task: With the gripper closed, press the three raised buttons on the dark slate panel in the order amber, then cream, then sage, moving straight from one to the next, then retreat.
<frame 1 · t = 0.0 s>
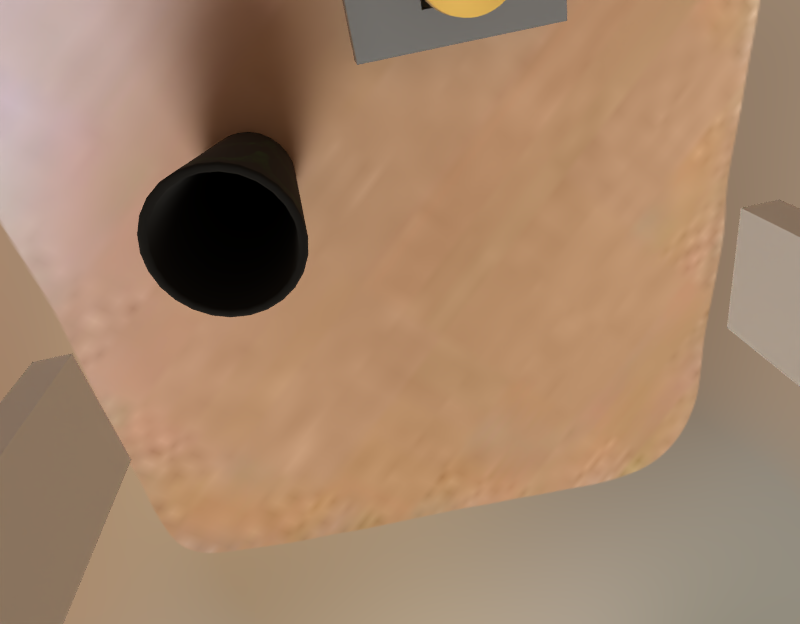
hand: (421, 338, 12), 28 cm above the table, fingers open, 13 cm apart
cup: (252, 175, 37), on the table
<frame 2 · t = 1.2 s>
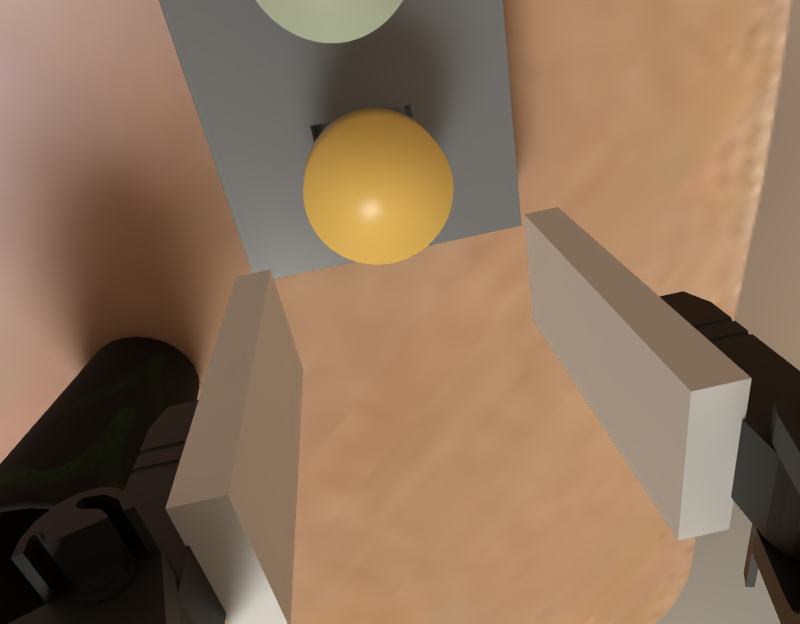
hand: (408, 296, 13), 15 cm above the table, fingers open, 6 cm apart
button amber: (374, 178, 22), point 5 cm above the table, slide at 0.0 cm
cup: (145, 379, 31), on the table
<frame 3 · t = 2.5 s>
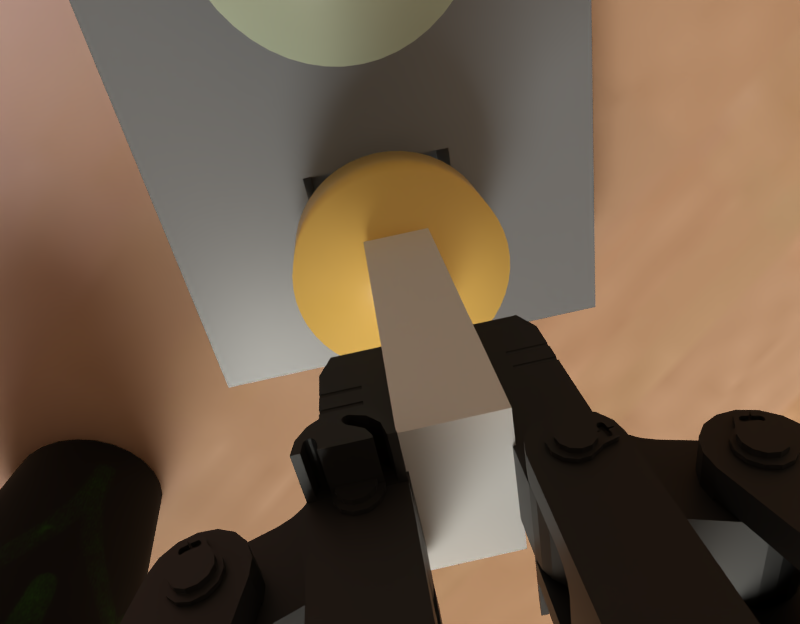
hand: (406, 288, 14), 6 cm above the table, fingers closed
button amber: (393, 245, 16), point 4 cm above the table, slide at 1.0 cm, touching gripper
cup: (91, 488, 24), on the table
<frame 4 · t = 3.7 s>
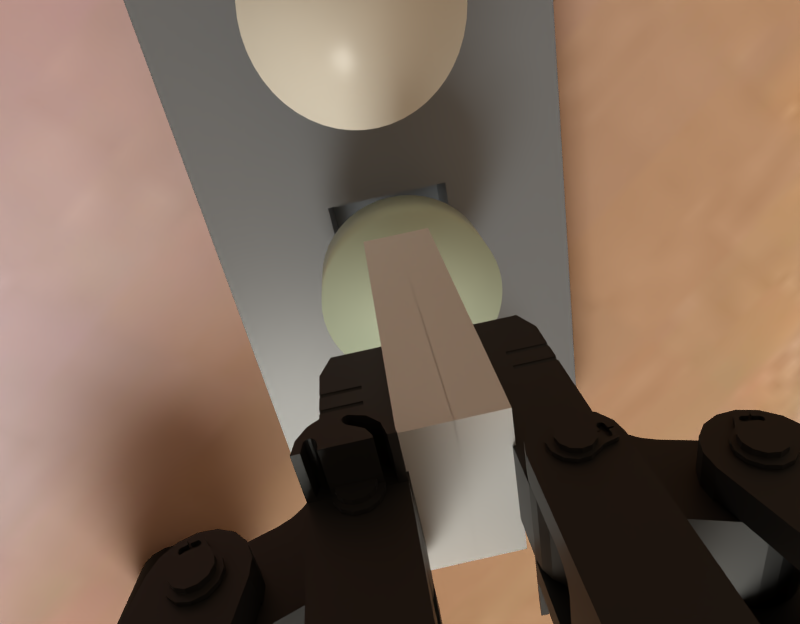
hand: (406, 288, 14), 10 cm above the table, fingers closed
panel: (390, 223, 23), on the table
button cream: (350, 11, 15), point 5 cm above the table, slide at 0.0 cm
cup: (196, 577, 31), on the table
button sage: (404, 272, 18), point 5 cm above the table, slide at 0.0 cm
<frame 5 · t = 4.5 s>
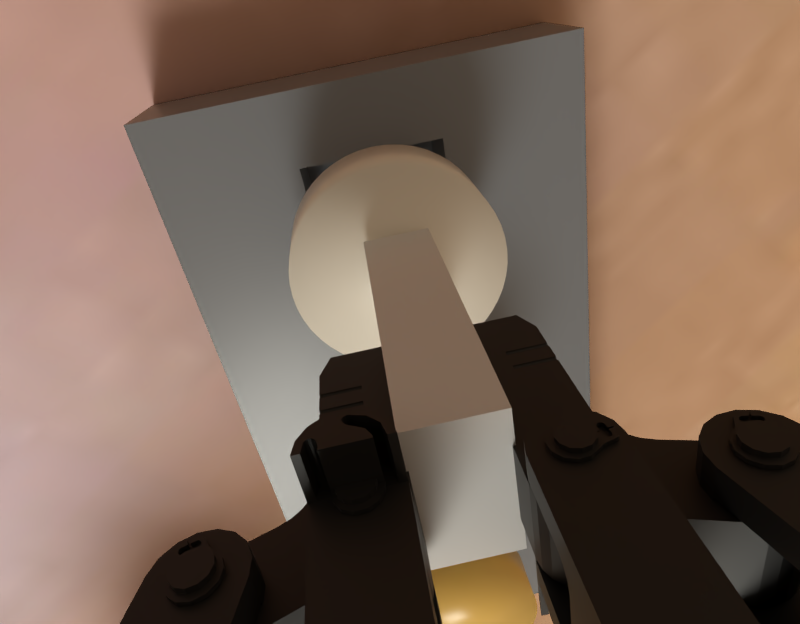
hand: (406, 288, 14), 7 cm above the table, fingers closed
panel: (413, 369, 23), on the table
button amber: (457, 571, 23), point 4 cm above the table, slide at 1.1 cm
button cream: (390, 239, 15), point 4 cm above the table, slide at 0.6 cm, touching gripper
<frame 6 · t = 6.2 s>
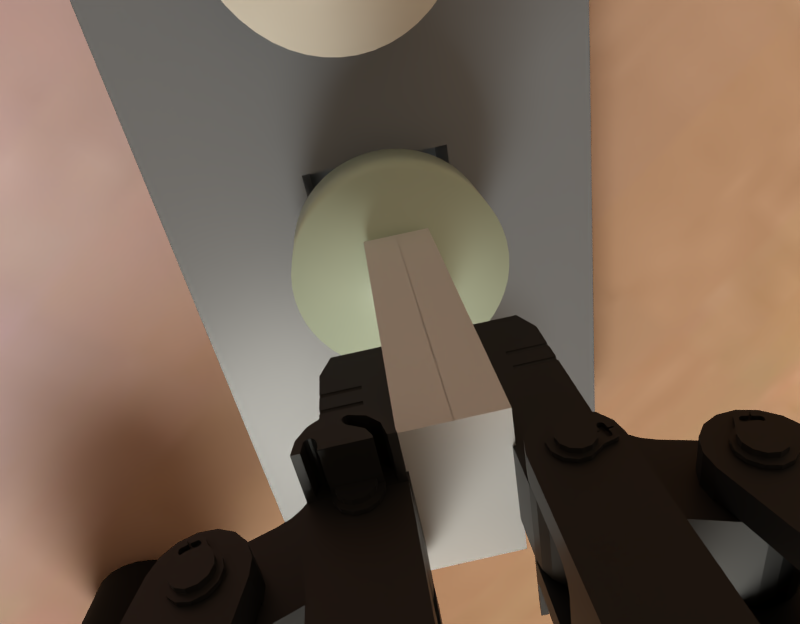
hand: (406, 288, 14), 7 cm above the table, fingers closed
panel: (378, 196, 19), on the table
cup: (161, 595, 27), on the table
button sage: (392, 243, 16), point 4 cm above the table, slide at 0.8 cm, touching gripper
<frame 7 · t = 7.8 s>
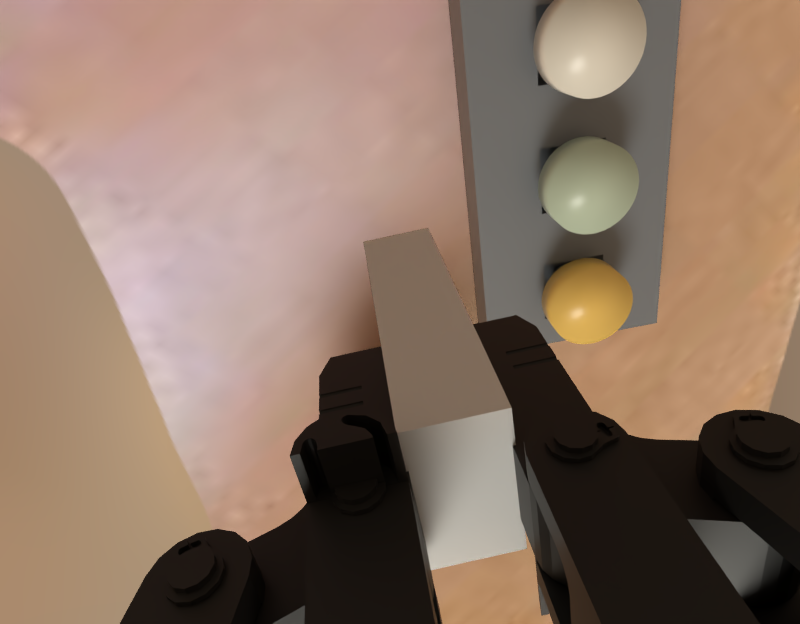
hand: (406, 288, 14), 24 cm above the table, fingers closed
panel: (555, 165, 37), on the table
button amber: (578, 292, 38), point 4 cm above the table, slide at 1.1 cm
button cream: (579, 41, 31), point 4 cm above the table, slide at 1.1 cm
button sage: (578, 180, 34), point 4 cm above the table, slide at 1.1 cm
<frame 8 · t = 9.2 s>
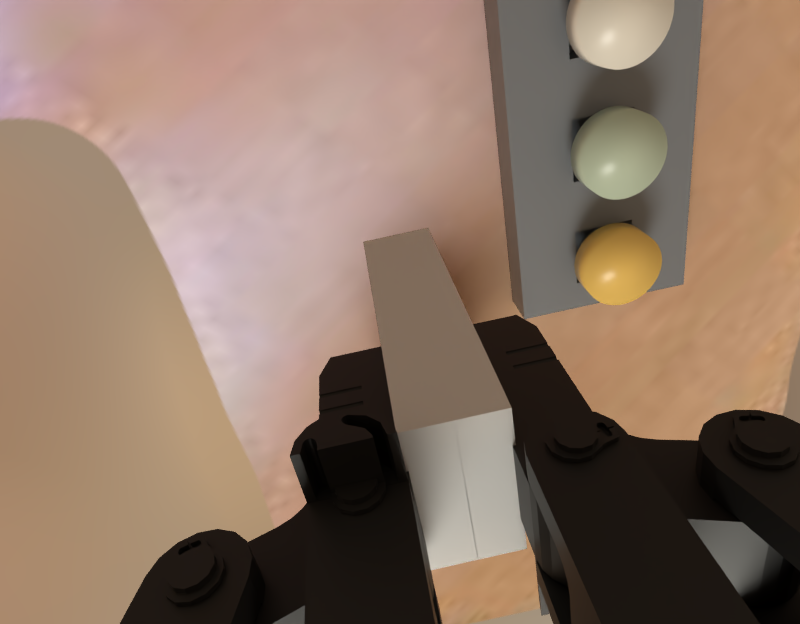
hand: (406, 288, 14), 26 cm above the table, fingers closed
panel: (584, 135, 39), on the table
button amber: (609, 257, 40), point 4 cm above the table, slide at 1.1 cm
button cream: (608, 15, 32), point 4 cm above the table, slide at 1.1 cm
button sage: (609, 148, 36), point 4 cm above the table, slide at 1.1 cm
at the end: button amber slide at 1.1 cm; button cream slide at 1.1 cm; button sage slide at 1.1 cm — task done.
